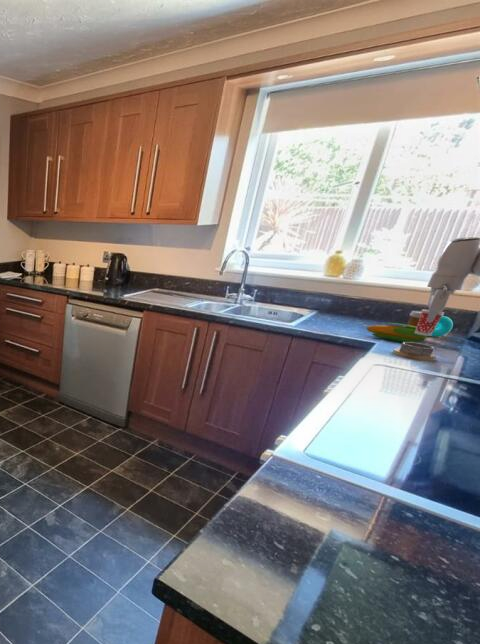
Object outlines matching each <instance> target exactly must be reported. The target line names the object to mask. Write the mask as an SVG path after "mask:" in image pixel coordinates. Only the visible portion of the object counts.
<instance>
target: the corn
mask: <svg viewBox="0 0 480 644" xmlns="http://www.w3.org/2000/svg"><path fill="white" fill-rule="evenodd" d="M407 326H409V327H407ZM410 327H414V328H410ZM365 328H366V330H367V331H368V332H370V333H372V334H371V335H372V336H373V337H376V338H379V339H382V340H387V341H392V342H393V341H394V342H398V343H403V342H414V343H421V342H424V341H425V340H427V337H428V336H426V335H419V334H415V330H416V326H412V325H408V324H405V323H395V322H394V323H393V322H388V325H386V324H385V325H384V324H373V325H369V326H366V327H365Z"/></svg>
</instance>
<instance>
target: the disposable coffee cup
mask: <svg viewBox="0 0 480 644" xmlns="http://www.w3.org/2000/svg"><path fill="white" fill-rule="evenodd" d="M421 311H422V310H412V311H411V312H410V313H409V319H408V321H407V322H408V323H407V325H412V326H416V327H417V324H418V322H419V319H420V316H421V313H422V312H421ZM406 327H409V326H406ZM410 328H414V327H410Z"/></svg>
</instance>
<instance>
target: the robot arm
mask: <svg viewBox="0 0 480 644" xmlns="http://www.w3.org/2000/svg"><path fill="white" fill-rule="evenodd" d="M469 275H470V276H476V277H480V237H476V236H475V237H474V236H473V237H472V236H471V237H459V238H458V237H457V238H455V239H454V238H453V239H452V240H450V241H449V242H448V243H447V244H446V246H445V247H444V249H443V250H442V252H441V254H440V256H439V259H438V260H437V267H436V268H435V270H434V271H433V272H432V275H431V277H430V279H429V281H428V283H427V285H426V286H427V288H430V291H429V292H430V294H429V298H428V301H427V307H428V310H430V312H429V315H428V317H427V320H426V321H427V322H433V321H434V318H435V317H436V315H437V314H438V312H444V310H445V308H446V306H447V303H448V300H449V299H450V296H451V295H455V293H456V291H462V289H463V287H464V284H465V282H466V280H467V278H468V277H469Z"/></svg>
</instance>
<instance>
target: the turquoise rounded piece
mask: <svg viewBox="0 0 480 644" xmlns="http://www.w3.org/2000/svg"><path fill="white" fill-rule="evenodd" d="M453 326H454V323H453V320H452V319H451V318H450V317H449V316H445V315H442V317H441V318H440V320H439V322H438V324H437V325H436V327H435V329H434V331H433V333H432V334H431V336H430V337H432V338H438V337H442V336H445V335H447V334H449V333H450V331H451V330H452V329H453Z"/></svg>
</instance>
